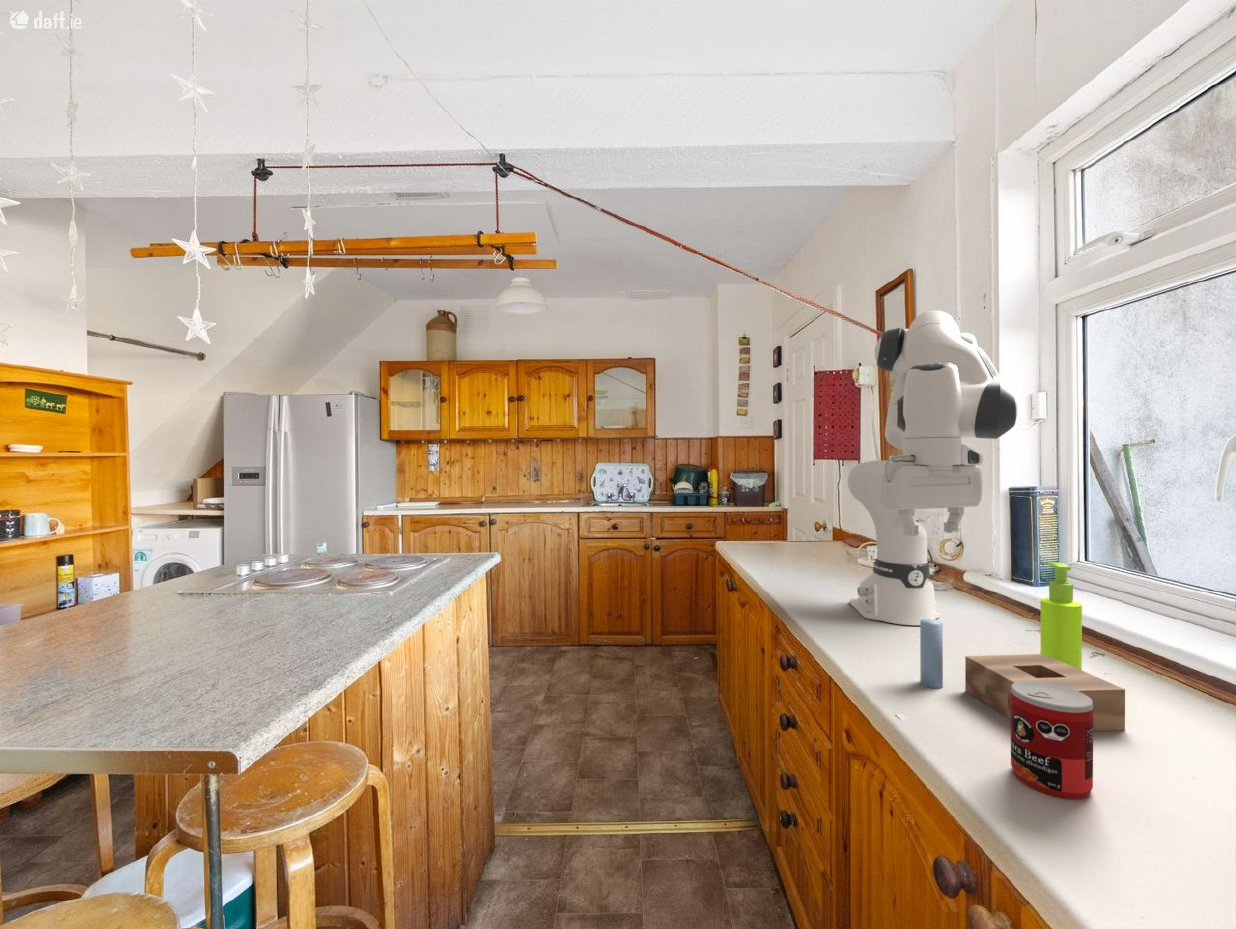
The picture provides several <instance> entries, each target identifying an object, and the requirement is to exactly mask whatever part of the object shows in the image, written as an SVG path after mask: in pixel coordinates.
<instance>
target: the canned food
mask: <svg viewBox="0 0 1236 929" xmlns="http://www.w3.org/2000/svg"><path fill="white" fill-rule="evenodd" d="M1093 722H1094V717H1093V702H1092V700H1091V698H1089V697H1088V696H1087V695H1085V694H1083V693H1081V692H1079V691H1076V690H1074V689H1071V688H1068V687H1065V686H1062V685H1057V684H1053V683H1048V682H1041V681H1019V682H1015V683H1013V684H1012V686H1011V720H1010V766H1011V769H1012V772H1013V774H1014V777H1016V778H1017V779H1018V780H1019V781H1020V782H1021V783H1022V784H1024V785H1025V786H1028V787H1029V788H1031V789H1034V790H1035V791H1038V792H1040V793H1043V794H1046V795H1047V796H1052V797H1056V798H1059V799H1060V798H1061V799H1067V800H1069V799H1070V800H1081V799H1083V798H1087V797H1089V796H1090V794H1091V792H1092V790H1093V788H1094V731H1093Z"/></svg>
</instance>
